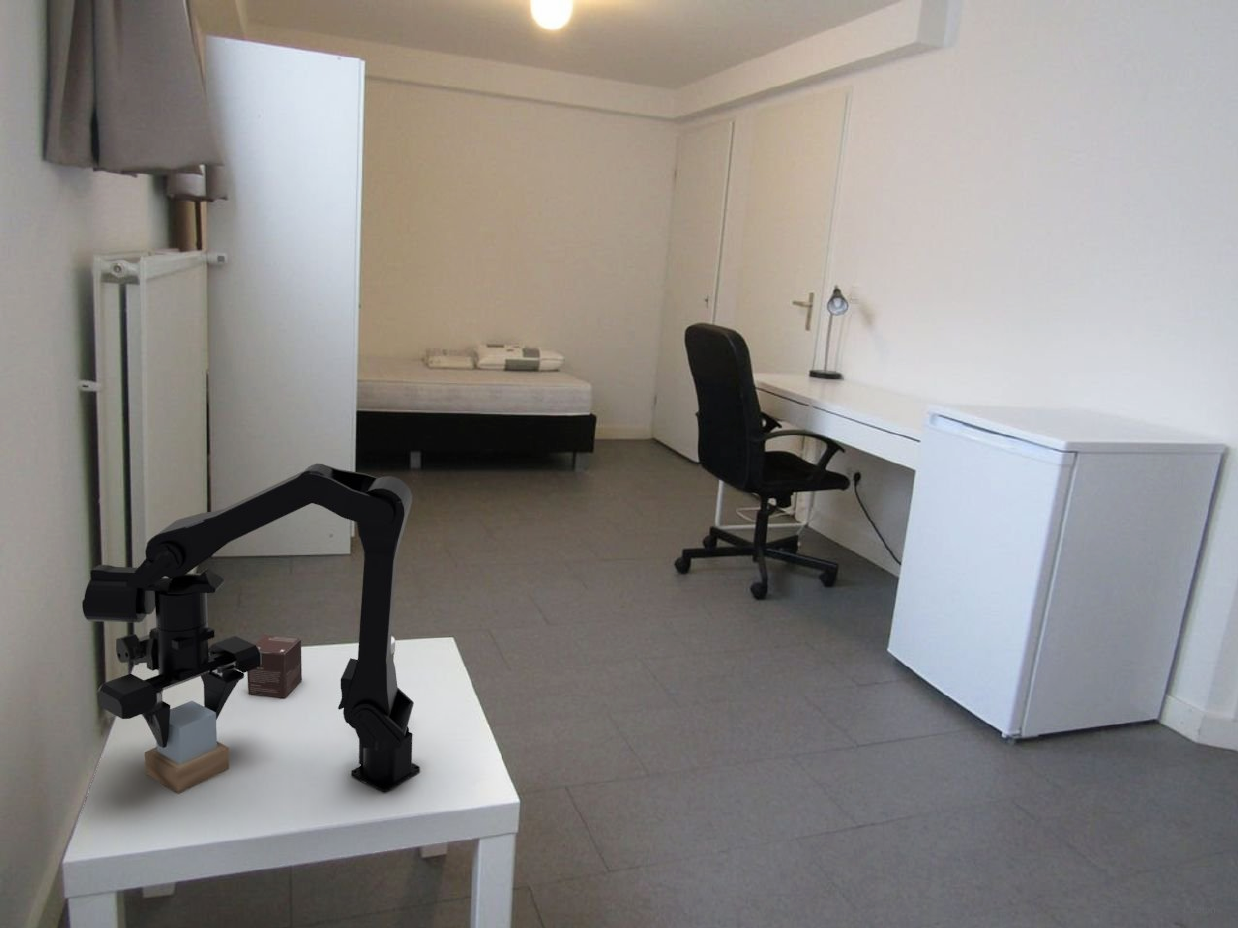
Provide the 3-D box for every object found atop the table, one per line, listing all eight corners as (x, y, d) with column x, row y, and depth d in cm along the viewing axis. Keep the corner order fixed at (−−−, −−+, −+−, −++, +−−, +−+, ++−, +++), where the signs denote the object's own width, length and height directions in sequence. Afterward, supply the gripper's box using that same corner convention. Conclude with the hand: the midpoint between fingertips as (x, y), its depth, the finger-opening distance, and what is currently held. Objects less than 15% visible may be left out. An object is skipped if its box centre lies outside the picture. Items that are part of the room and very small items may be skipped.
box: (302, 681, 139) (302, 637, 137) (285, 699, 133) (284, 654, 132) (265, 676, 140) (265, 633, 138) (246, 694, 134) (245, 649, 132)
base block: (229, 768, 115) (228, 747, 114) (178, 793, 109) (177, 771, 108) (196, 749, 119) (195, 729, 118) (145, 773, 113) (144, 751, 112)
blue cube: (216, 747, 114) (215, 712, 113) (180, 764, 110) (179, 728, 109) (193, 734, 117) (192, 700, 115) (156, 751, 112) (155, 715, 111)
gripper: (210, 585, 121) (213, 689, 125) (68, 627, 105) (76, 745, 109) (263, 606, 116) (265, 714, 119) (121, 654, 100) (128, 777, 103)
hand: (186, 735), depth 113 cm, fingers open, 6 cm apart
